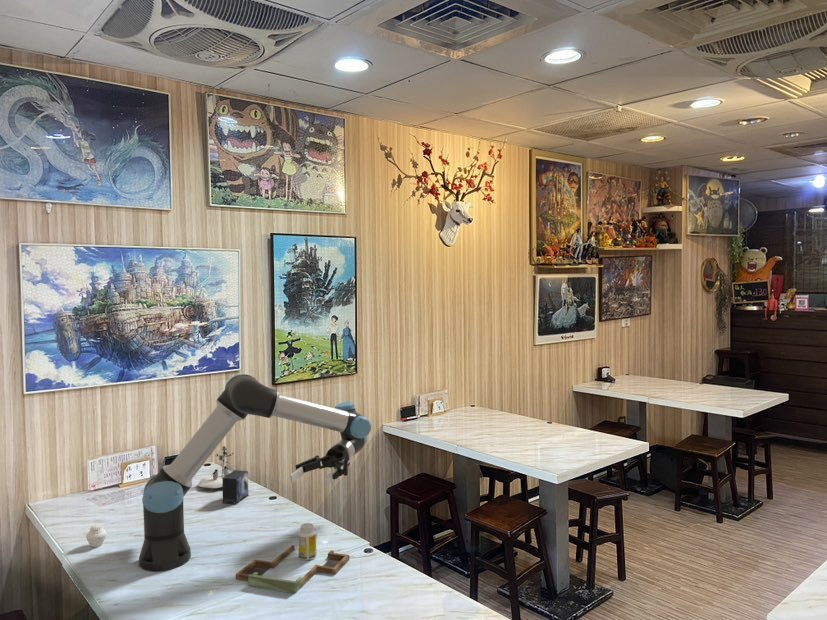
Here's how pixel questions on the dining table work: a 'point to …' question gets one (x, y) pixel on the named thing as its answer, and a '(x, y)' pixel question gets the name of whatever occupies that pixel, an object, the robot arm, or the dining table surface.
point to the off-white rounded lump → (96, 536)
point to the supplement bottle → (307, 542)
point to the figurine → (216, 474)
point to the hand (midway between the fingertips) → (308, 480)
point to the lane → (260, 567)
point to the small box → (235, 487)
